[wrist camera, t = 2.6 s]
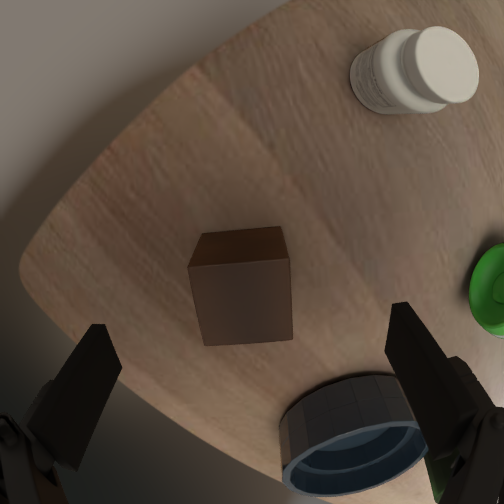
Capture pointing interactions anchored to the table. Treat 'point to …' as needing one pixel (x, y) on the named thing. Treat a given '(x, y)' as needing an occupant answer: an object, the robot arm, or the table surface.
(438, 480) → the potion bottle
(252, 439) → the table surface
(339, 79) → the table surface
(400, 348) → the robot arm
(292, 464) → the blue round bin
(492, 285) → the speaker
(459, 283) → the table surface
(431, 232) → the table surface
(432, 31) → the pill bottle
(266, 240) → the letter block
